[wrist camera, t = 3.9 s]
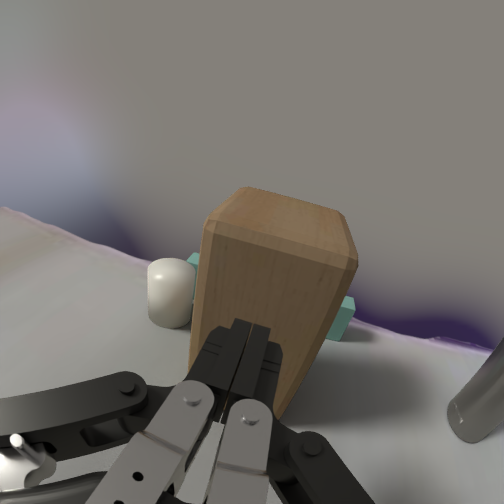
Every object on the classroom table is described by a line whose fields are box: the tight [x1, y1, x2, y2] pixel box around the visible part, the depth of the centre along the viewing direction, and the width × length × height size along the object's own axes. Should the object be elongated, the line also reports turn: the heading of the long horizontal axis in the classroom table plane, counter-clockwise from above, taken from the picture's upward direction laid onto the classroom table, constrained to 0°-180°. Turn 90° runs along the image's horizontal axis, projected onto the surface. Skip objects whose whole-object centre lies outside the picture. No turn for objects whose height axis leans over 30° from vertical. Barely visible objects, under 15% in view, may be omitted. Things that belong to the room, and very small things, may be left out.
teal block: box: [186, 253, 355, 341], centre depth 39 cm, size 24×3×6 cm, turn 77°
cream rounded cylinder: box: [148, 258, 196, 329], centre depth 35 cm, size 6×6×7 cm
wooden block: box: [188, 187, 358, 420], centre depth 24 cm, size 10×10×20 cm
